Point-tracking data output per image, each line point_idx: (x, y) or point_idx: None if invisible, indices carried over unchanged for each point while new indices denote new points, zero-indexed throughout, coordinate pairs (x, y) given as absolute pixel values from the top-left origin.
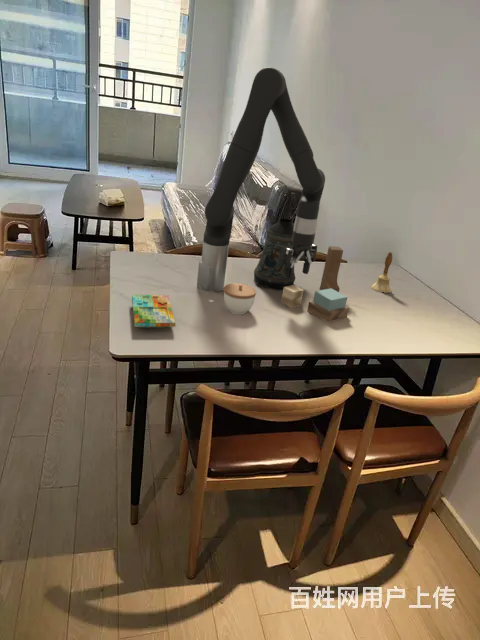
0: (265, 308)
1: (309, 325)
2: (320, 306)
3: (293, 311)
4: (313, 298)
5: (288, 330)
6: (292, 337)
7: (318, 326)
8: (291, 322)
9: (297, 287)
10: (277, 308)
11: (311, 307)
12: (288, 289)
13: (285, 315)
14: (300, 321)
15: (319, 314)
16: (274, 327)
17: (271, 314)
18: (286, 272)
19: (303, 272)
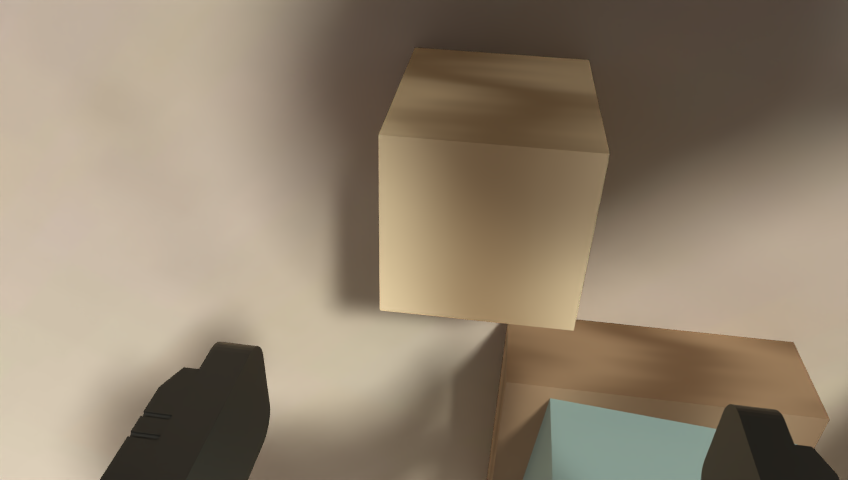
0: (125, 75)
1: (307, 441)
2: (517, 477)
3: (368, 259)
4: (552, 426)
5: (105, 405)
6: (80, 457)
7: (360, 475)
8: (203, 358)
9: (574, 244)
10: (256, 139)
11: (502, 383)
12: (380, 224)
13: (235, 269)
14: (287, 382)
15: (493, 437)
16: (23, 338)
17: (115, 195)
18: (146, 431)
19: (722, 425)
